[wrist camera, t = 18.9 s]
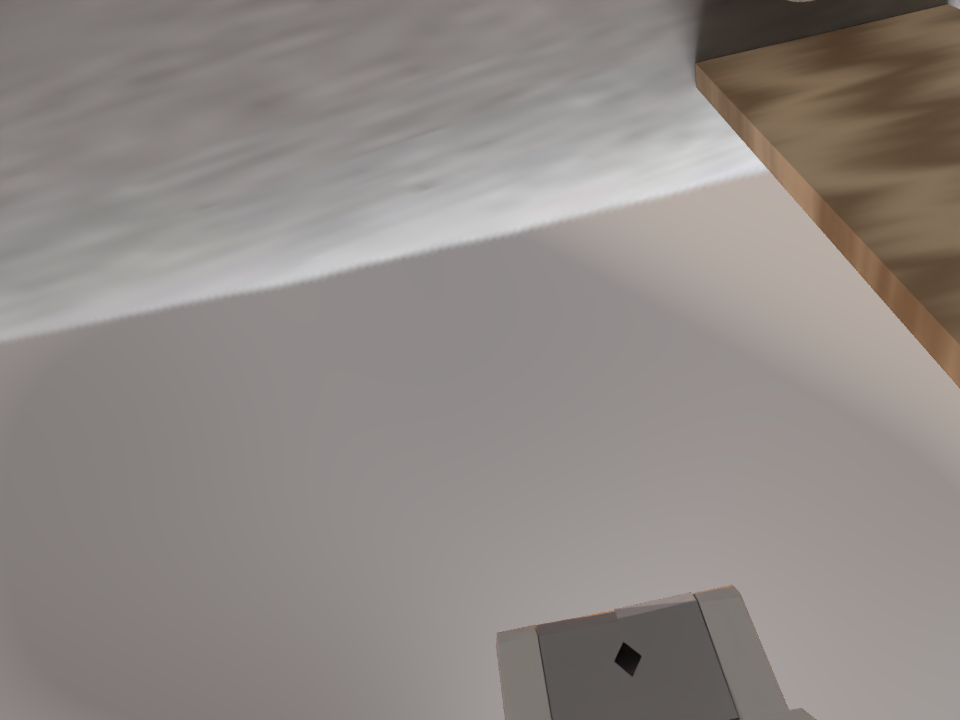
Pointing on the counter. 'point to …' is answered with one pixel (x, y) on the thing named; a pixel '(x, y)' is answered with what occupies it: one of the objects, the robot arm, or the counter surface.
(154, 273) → the counter surface
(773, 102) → the oak counter shelf
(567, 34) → the counter surface
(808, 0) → the cream rounded cylinder
